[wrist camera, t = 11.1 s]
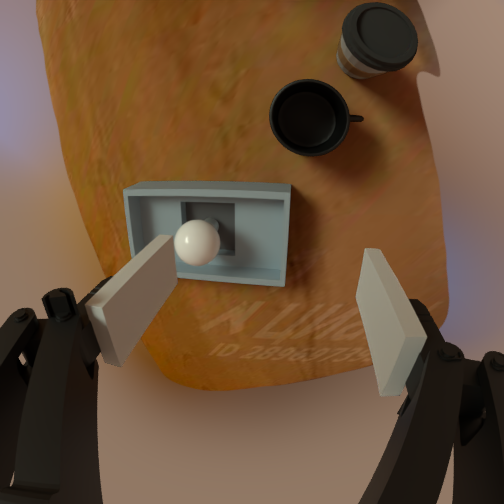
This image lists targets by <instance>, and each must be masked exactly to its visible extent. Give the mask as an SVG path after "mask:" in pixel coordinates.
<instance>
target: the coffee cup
mask: <svg viewBox="0 0 504 504" xmlns="http://www.w3.org/2000/svg"><path fill="white" fill-rule="evenodd" d="M417 46H418V38H417V33H416V30H415V27H414V25H413V24H412V22H411V21H410V20H409V18H408V17H407V16H406V15H405V14H404V13H403V12H401V11H400V10H398V9H397V8H395V7H393V6H390V5H388V4H384V3H379V2H374V3H365V4H362V5H359V6H357V7H355V8H354V9H353V10H351V11H350V13H348V15H347V16H346V18H345V19H344V22H343V26H342V34H341V37H340V41H339V45H338V51H337V61H338V64H339V66H340V68H341V69H342V70H343V71H344V72H345V73H346V74H347V75H349V76H351V77H353V78H356V79H366V78H370V77H374V76H378V75H381V74H384V73H387V72H390V71H397V70H399V69H402V68H404V67H405V66H406V65H407V64H409V63H410V61H412V60H413V58H414V56H415V54H416V52H417Z"/></svg>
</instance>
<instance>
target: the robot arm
mask: <svg viewBox="0 0 504 504" xmlns="http://www.w3.org/2000/svg"><path fill="white" fill-rule="evenodd" d="M177 283H178V280H177V271H176V262H175V252H174V242H173V235H158V236H157V237H156V238H155V239H154V240H153V241H151V242H150V243H149V244H148V245H147V246H146V247H145V248H144V249H143V250H141V251H140V252H139V253H138V254H137V255H136V256H135V257H134V258H133V259H132V260H130V261H129V262H128V263H127V264H126V265H125V266H124V267H123V268H122V269H121V270H120V271H119V272H118V273H117V274H115V275H114V276H110V277H108V278H106V279H104V280H102V281H101V282H100V283H99V284H98V285H97V286H96V287H95V288H94V289H93V290H92V291H91V292H90V293H89V294H87V296H85V297H84V298H83V299H82V300H81V301H80V302H79V303H78V304H76V300H75V297H74V294H73V291H72V290H71V289H69V288H58V289H54V290H52V291H50V292H48V293H47V294H45V295H44V296H43V298H42V301H43V304H44V307H45V310H46V313H47V316H48V319H37V317H36V315H35V312H34V310H33V309H31V308H21V309H18V310H17V311H15V312H14V313H13V314H11V315H10V317H9V318H8V319H7V320H6V322H5V323H4V324H3V325H2V327H1V328H0V504H103V501H102V492H101V484H100V472H99V458H98V438H97V437H98V436H97V392H98V369H99V366H98V362H97V360H96V357H97V356H98V355H99V353H100V352H101V354H102V357H103V359H104V362H105V363H107V364H111V365H114V366H118V367H121V366H122V365H123V364H124V362H125V360H126V359H127V357H128V356H129V354H130V353H131V351H132V350H133V348H134V346H135V345H136V344H137V342H138V340H139V339H140V338H141V336H142V335H143V333H144V332H145V330H146V329H147V327H148V326H149V324H150V323H151V321H152V320H153V318H154V317H155V315H156V314H157V312H158V311H159V309H160V308H161V306H162V305H163V304H164V302H165V301H166V299H167V298H168V296H169V295H170V293H171V292H172V291H173V289H174V288H175V286H176V285H177ZM356 300H357V303H358V307H359V311H360V314H361V318H362V321H363V325H364V329H365V333H366V337H367V341H368V345H369V349H370V353H371V357H372V361H373V365H374V369H375V374H376V378H377V383H378V387H379V392H380V396H400V394H401V392H402V390H403V388H404V386H405V384H406V388H407V391H408V395H407V397H406V399H405V401H404V402H403V404H402V406H401V408H400V409H399V411H398V413H397V414H399V417H398V420H397V422H396V425H395V428H394V430H393V433H392V435H391V437H390V440H389V442H388V444H387V447H386V449H385V451H384V454H383V456H382V458H381V460H380V462H379V465H378V467H377V469H376V471H375V473H374V475H373V477H372V479H371V482H370V483H369V485H368V487H367V489H366V491H365V492H364V494H363V496H362V498H361V500H360V502H359V503H358V504H436V503H437V500H438V497H439V494H440V491H441V488H442V485H443V482H444V478H445V475H446V471H447V467H448V463H449V459H450V456H451V451H452V447H453V445H454V484H453V501H452V504H504V354H502V353H500V352H496V351H490V352H488V353H486V354H485V356H484V357H483V359H482V361H481V362H480V361H475V360H469V359H465V358H464V354H463V352H462V351H461V349H459V348H458V347H457V346H456V345H453V344H451V343H448V342H445V340H444V339H443V337H442V335H441V333H440V331H439V329H438V327H437V325H436V324H435V322H434V320H433V318H432V316H430V313H429V311H428V309H427V308H426V306H425V305H424V304H422V303H421V302H420V301H419V300H418V299H408V298H407V296H406V294H405V292H404V290H403V289H402V287H401V285H400V283H399V281H398V280H397V278H396V276H395V274H394V273H393V271H392V269H391V267H390V266H389V264H388V262H387V260H386V259H385V257H384V255H383V254H382V252H381V250H380V249H372V248H365V251H364V256H363V262H362V268H361V273H360V278H359V283H358V288H357V293H356ZM21 353H22V354H23V356H24V358H25V360H26V362H25V364H24V365H22V364H21V362H20V360H19V358H18V357H19V356H20V354H21ZM485 411H486V412H485ZM14 470H15V471H14ZM13 473H14V482H13V484H12V486H10V483H11V480H12V476H13Z"/></svg>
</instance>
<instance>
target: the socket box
mask: <svg viewBox="0 0 504 504" xmlns="http://www.w3.org/2000/svg"><path fill="white" fill-rule="evenodd" d="M123 195H124V204H125V213H126V221H127V229H128V236H129V243H130V250H131V256H132V259H133V258H134V257H135V256H136V255H137V254H138V253H139V252H140V251H141V250H143V249H144V248H145V247H146V246H147V245H148V244H149V243H150V242H151V241H153V240H154V239H155V238H156V237H157V236H158V235H173V242H174V239H175V235H176V233H177V231H178V229H179V228H180V227H181V226H182V225H183V224H184V223H186V222H188V221H191V220H205V219H207V218H213V219H215V220H216V221H217V222H218V224H219V229H218V231H217V232H218V234H219V236H220V249H219V252H218V254H217V256H216V257H215V258H214V259H213V260H212V261H211V262H209V263H208V264H206V265H202V266H192V265H189V264H187V263H185V262H183V261H182V260H181V259H180V258H179V257H178V255H177V253H176V251H175V247H174V252H175V262H176V271H177V278H187V279H197V280H208V281H219V282H230V283H242V284H254V285H267V286H281V287H285V277H286V264H287V249H288V233H289V215H290V196H291V184H280V183H259V182H229V181H145V182H139V183H137V184H135V185H132V186H130V187H128V188H126V189H123Z"/></svg>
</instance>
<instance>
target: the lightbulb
mask: <svg viewBox="0 0 504 504" xmlns="http://www.w3.org/2000/svg"><path fill="white" fill-rule="evenodd" d="M218 229H219V224H218V222H217V221H216V220H215V219H213V218H207V219H205V220H191V221H188V222H186V223H184V224H183V225H182V226H181V227H180V228H179V229H178V231H177V233H176V235H175V239H174V247H175V251H176V253H177V255H178V257H179V258H180V259H181V260H182V261H183V262H185V263H187V264H189V265H192V266H202V265H206V264H208V263H209V262H211V261H212V260H213V259H214V258H215V257H216V256H217V254H218V252H219V249H220V236H219V234H218V232H217V231H218Z"/></svg>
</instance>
